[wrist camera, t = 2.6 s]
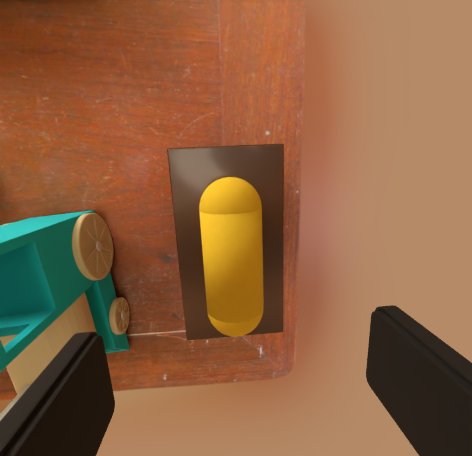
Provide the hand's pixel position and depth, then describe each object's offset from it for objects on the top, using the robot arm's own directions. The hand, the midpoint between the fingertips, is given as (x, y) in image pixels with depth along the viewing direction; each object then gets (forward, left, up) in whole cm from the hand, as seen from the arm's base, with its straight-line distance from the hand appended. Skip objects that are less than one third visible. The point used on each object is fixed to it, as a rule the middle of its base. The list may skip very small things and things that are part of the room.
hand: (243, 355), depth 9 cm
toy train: (+16, -5, -20) cm, 26 cm away
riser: (0, 0, -20) cm, 20 cm away
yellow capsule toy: (0, 0, -11) cm, 11 cm away
